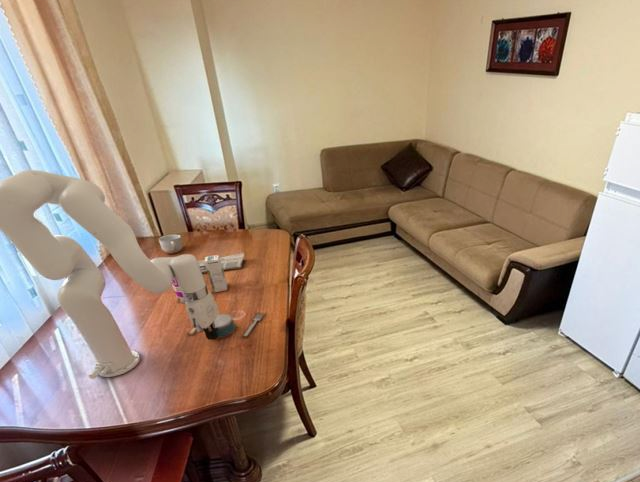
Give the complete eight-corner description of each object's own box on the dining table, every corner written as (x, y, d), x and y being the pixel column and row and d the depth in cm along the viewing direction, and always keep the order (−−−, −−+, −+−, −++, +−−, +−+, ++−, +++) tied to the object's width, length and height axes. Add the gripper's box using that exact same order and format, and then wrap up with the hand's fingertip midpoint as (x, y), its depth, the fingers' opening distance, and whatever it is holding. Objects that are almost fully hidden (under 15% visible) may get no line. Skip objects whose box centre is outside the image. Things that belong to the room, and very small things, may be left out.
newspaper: (166, 278, 180) (163, 271, 178) (173, 267, 191) (170, 260, 189) (243, 268, 185) (241, 261, 183) (246, 257, 195) (244, 251, 193)
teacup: (163, 250, 210) (158, 236, 206) (184, 245, 214) (179, 231, 209) (163, 259, 200) (158, 244, 195) (186, 254, 203) (180, 240, 199)
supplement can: (192, 304, 159) (179, 271, 150) (174, 303, 161) (161, 270, 152) (203, 294, 165) (191, 262, 157) (186, 293, 167) (174, 261, 159)
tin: (228, 338, 137) (224, 328, 134) (204, 338, 138) (200, 327, 135) (239, 324, 144) (236, 314, 141) (217, 323, 145) (213, 313, 143)
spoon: (196, 334, 140) (195, 332, 139) (186, 334, 141) (185, 332, 140) (215, 313, 152) (214, 311, 151) (206, 313, 152) (205, 311, 152)
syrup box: (214, 287, 170) (204, 256, 162) (228, 284, 172) (218, 254, 164) (213, 293, 166) (203, 262, 158) (228, 290, 167) (218, 259, 159)
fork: (248, 337, 137) (248, 335, 137) (241, 336, 137) (241, 335, 137) (264, 314, 149) (263, 313, 148) (257, 314, 149) (257, 313, 149)
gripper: (193, 305, 118) (211, 352, 128) (217, 281, 130) (232, 326, 140) (171, 304, 119) (191, 351, 129) (197, 281, 131) (213, 325, 141)
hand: (212, 338), depth 135 cm, fingers closed
